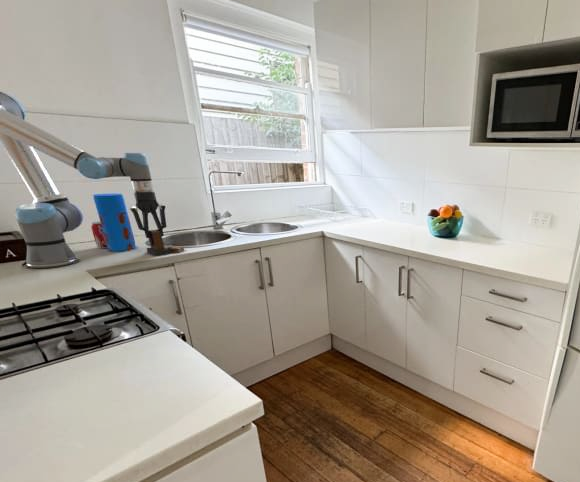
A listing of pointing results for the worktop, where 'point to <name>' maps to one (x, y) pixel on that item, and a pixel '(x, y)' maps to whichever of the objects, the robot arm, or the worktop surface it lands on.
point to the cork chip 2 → (177, 249)
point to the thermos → (115, 221)
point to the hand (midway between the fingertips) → (156, 244)
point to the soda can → (99, 235)
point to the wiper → (157, 244)
